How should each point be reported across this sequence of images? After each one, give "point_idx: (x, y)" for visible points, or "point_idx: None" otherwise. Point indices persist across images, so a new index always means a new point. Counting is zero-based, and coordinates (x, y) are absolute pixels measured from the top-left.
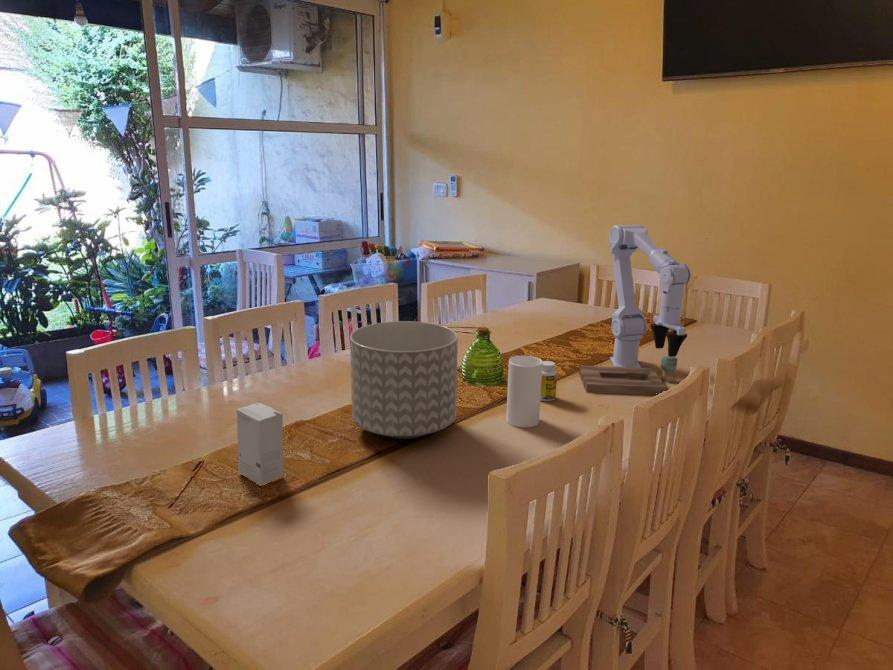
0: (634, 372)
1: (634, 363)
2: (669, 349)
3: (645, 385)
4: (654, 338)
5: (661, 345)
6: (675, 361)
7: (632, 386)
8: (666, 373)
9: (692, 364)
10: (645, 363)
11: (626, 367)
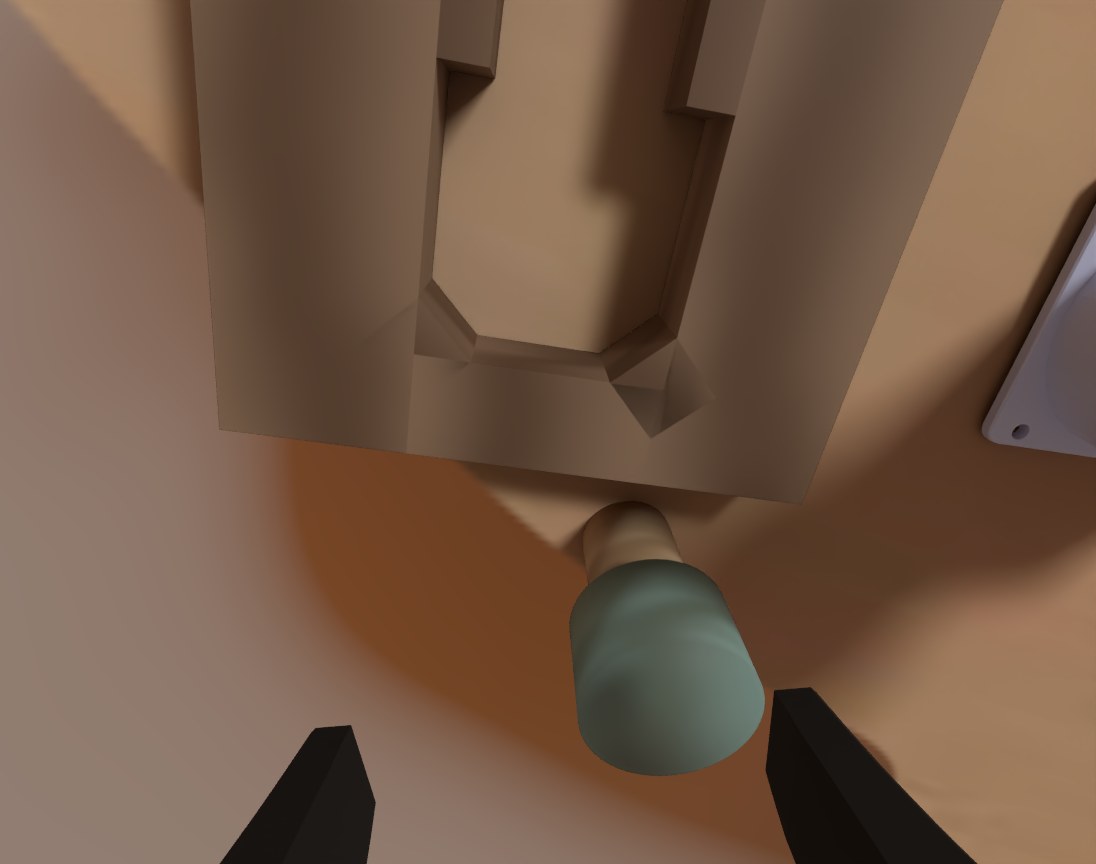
0: (709, 249)
1: (1067, 401)
2: (224, 857)
3: (231, 206)
4: (940, 846)
5: (787, 798)
6: (584, 733)
7: (195, 4)
8: (601, 567)
9: (922, 803)
10: (1086, 525)
11: (909, 215)
